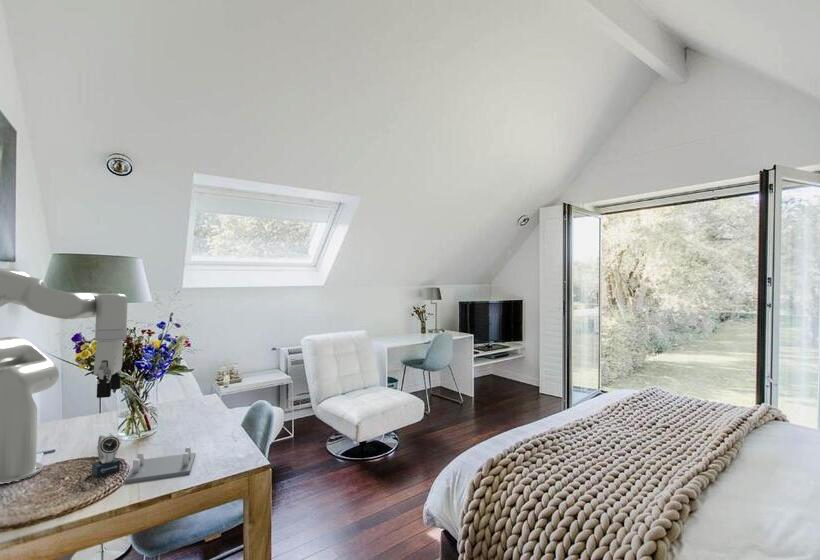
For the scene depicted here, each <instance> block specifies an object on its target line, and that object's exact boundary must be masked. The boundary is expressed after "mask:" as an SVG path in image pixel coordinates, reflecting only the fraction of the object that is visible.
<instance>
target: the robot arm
mask: <svg viewBox="0 0 820 560" xmlns="http://www.w3.org/2000/svg"><path fill="white" fill-rule="evenodd" d="M9 303H10V304H14V305H19V306H23V307H25V308H26V309H28V310H30V311H31V312H34V313H37V314H40V315H44V316H49V317H53V318H56V319H63V320H76V319H87V318H95V324H94V325H95V327H94V328H95V331H94V342H96V347H95V354H94V364H93V365H94V366H93V375H94V376H95V377H96V378H97V381H96V398H97V399H102V398H110V397H111V395H112V390H120V389H121V380H122V379H121V370H122V368H123V358H124V355H123V352H124V351H123V350H124V348H123V347H124V346H123V345H124V344H123V341H125V340H127V325H128V324H127V322H128V296H127V295H126V294H124V293H99V292H88V291H87V292H70V291H69V292H67V291H63V290H58V289H54V288H50V287H48V285H47V283H46V281H44V279H41V278H36V277H34V276H30V275H29V274H28V273H26V272H25V271H23V270H21V269H15V268H0V308H1V307H3V306H5V305H7V304H9ZM59 377H60V372H59V368H58V367H57V365H56V363H54V362H53V361H52V360H51V359H50V358H49V357H47V356H46V355H45V354H44V353H43V352H42V351H41V350H40V349H38V348H37V347H36V346H35V345H34V344H32V342H30V341H28V340H27V339H25V338H22V337H18V336H5V337H0V482H9V481H15V480H20V479H24V478H27V477H29V476H32V475H34V474H36V473H38V472H40V471H41V470H42V469H43V470H44V464H43V463H41V462H37V452H38V451H37V446H38V445H37V444H38V443H37V442H38V407H37V404H36V402H35V400H34V398H33V395H34V394H36V393H40V392H44V391H46V390H48V389H50V388H52V387H54V386H55V385H56V383H57V382H58V380H59ZM43 470H42V471H43ZM42 471H41V472H42ZM41 472H40V473H41ZM38 474H39V473H38ZM36 475H37V474H36ZM34 476H35V475H34ZM32 477H33V476H32ZM27 479H28V478H27ZM24 480H25V479H24Z"/></svg>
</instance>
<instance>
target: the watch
mask: <svg viewBox="0 0 820 560" xmlns="http://www.w3.org/2000/svg"><path fill="white" fill-rule="evenodd" d="M121 444H122V441H120V440H119V438H118V437H116V435H114V434H113V433H105V434H100V435H99V436H98V440H97V447H96V448H97V456H98V459H99V461H95V462H92V463H91V474H92V476H94V477H95V478H97V479H98V478H102V477H104V476H107V475H112V474H115V473H118V472H120V467H121V466H120V462H121V461H120V460H119V458H117V457H116V455H117V453H118V451H119V448H120V446H121Z"/></svg>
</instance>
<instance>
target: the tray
mask: <svg viewBox="0 0 820 560" xmlns="http://www.w3.org/2000/svg"><path fill="white" fill-rule="evenodd" d="M191 447H192V446H186V447H185V448H184V452H183V453H182V454H175V455H167V456H160V457H151V458H145V459H144V457H145V452H142V451H140V452H138V453H137V454H136V456H137V458H134V459H133V460H132V468H131V469H130V471H129V473H128V474H127V476H126V477H125V479H124V484H128V483H129V484H130V483H137V482H144V481H145V482H146V481H151V480H157V479H165V478H166V479H167V478H173V477H178V476H180V477H181V476H184V475H186V476H187V475H190V474H191V471H192V468H193V465H194V462H195V458H196V452H192V451H191V450H192V448H191Z"/></svg>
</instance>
